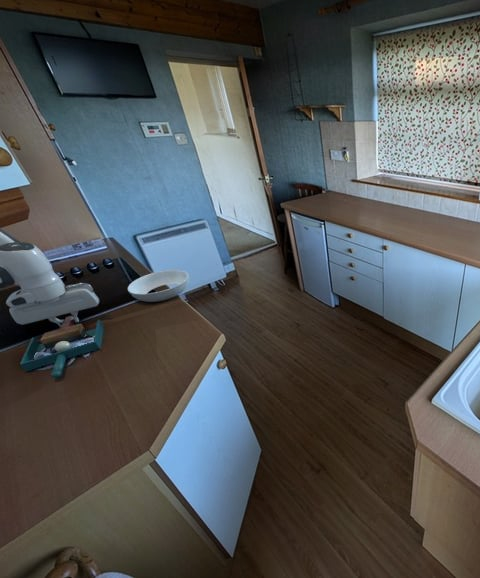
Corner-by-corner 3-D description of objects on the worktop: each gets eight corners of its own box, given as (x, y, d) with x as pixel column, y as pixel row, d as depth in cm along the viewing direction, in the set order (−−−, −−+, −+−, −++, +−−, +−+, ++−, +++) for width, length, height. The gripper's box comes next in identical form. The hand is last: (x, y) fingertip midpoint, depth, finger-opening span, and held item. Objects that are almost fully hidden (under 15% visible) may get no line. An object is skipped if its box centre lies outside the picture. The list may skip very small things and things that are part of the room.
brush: (83, 338, 97) (78, 329, 96) (46, 349, 93) (39, 340, 91) (91, 319, 109) (86, 311, 107) (58, 328, 104) (52, 320, 103)
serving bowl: (190, 302, 120) (184, 287, 116) (128, 313, 113) (120, 298, 109) (196, 279, 136) (191, 265, 133) (142, 287, 129) (135, 274, 126)
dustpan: (38, 345, 97) (31, 337, 95) (104, 327, 106) (99, 319, 104) (17, 395, 80) (9, 386, 78) (97, 368, 89) (91, 360, 87)
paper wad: (56, 345, 94) (60, 355, 94) (50, 343, 91) (54, 353, 91) (70, 340, 96) (75, 349, 96) (65, 338, 93) (69, 348, 93)
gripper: (89, 277, 103) (108, 309, 110) (4, 295, 93) (31, 329, 100) (87, 284, 99) (107, 317, 106) (-3, 304, 88) (26, 339, 96)
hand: (69, 323), depth 103 cm, fingers closed on brush, 2 cm apart
